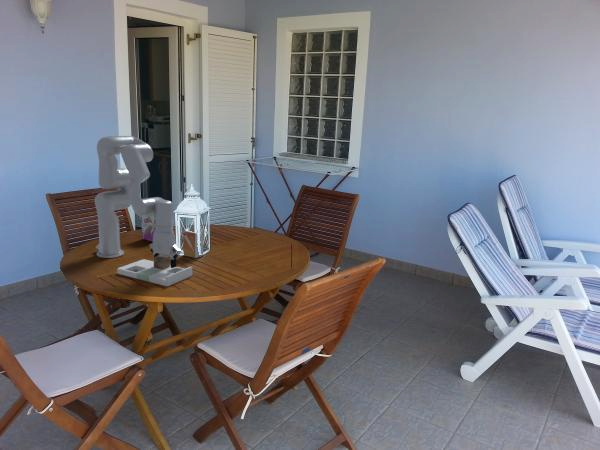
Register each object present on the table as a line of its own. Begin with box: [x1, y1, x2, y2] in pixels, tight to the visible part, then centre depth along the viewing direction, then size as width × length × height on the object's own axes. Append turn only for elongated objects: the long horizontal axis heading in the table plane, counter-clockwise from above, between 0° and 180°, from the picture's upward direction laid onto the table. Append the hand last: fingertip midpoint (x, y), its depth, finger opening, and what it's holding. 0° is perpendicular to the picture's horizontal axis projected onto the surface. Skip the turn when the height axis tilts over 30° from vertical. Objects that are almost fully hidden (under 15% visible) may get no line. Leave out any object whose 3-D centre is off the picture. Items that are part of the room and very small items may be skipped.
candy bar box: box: [140, 214, 156, 243], centre depth 268 cm, size 11×5×16 cm, turn 58°
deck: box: [116, 258, 193, 287], centre depth 216 cm, size 29×16×4 cm, turn 63°
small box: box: [182, 230, 204, 259], centre depth 245 cm, size 8×6×13 cm
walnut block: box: [152, 254, 171, 270], centre depth 219 cm, size 5×5×5 cm
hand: (165, 265), depth 218 cm, fingers open, 9 cm apart
